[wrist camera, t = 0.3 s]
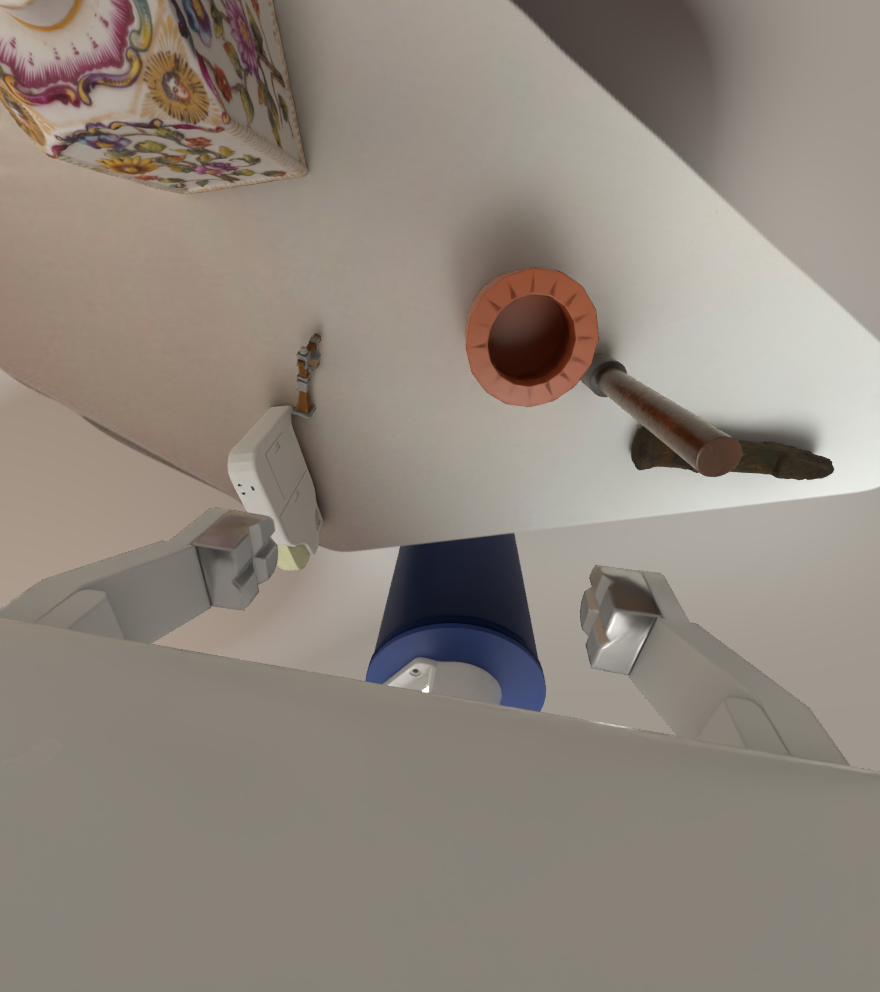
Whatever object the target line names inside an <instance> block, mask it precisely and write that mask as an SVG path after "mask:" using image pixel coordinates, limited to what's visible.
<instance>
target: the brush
mask: <svg viewBox="0 0 880 992" xmlns="http://www.w3.org/2000/svg"><path fill="white" fill-rule="evenodd" d="M581 381H582V382H583V383H584V384H585V385H586V386H587V387H588V388H589V389H590V390H592V391H593V392H594V393H595V394H596V395H598V396H601V397H609V398H610V399H612V400H613V401H614V402H615V403H616V404H618V405H619V406H620V407H621V408H622V409H624V410H625V411H626V412H627V413H628V414H630V415H631V416H632V417H633V418H634V419H636V420H637V421H638V422H639V423H641V424H642V425H643V426H644V427H645V428H647V429H648V430H649V431H650V432H651V433H653V434H654V435H655V436H656V437H657V438H659V439H660V440H661V441H662V442H663V443H665V444H666V445H667V446H668V447H669V448H671V449H672V450H673V451H674V452H675V453H677V454H678V455H679V456H680V457H681V458H683V459H684V460H685V461H686V462H687V463H689V464H690V465H691V466H692V467H693V468H695V469H696V470H697V471H698V472H699V473H701V474H702V475H705V476H708V477H717V476H721V475H724V474H726V473H728V472H730V471H731V470H732V469H734V468H735V467H736V466H737V464H738V463H739V461H740V459H741V457H742V447H741V444H740V443H739V442H738V441H737V440H736V439H734V438H733V437H731V436H729V435H728V434H726V433H724V432H723V431H721V430H719V429H718V428H716V427H714V426H713V425H711V424H709V423H708V422H706V421H704V420H703V419H701V418H699V417H698V416H696V415H694V414H693V413H691V412H689V411H688V410H686V409H684V408H682V407H681V406H679V405H677V404H676V403H674V402H672V401H671V400H669V399H667V398H666V397H664V396H662V395H661V394H659V393H657V392H656V391H654V390H652V389H651V388H649V387H647V386H646V385H644V384H642V383H641V382H639V381H637V380H636V379H634V378H632V377H631V376H629V375H627V372H626V369H625V367H624V366H623V365H622V364H621V363H619V362H618V361H616V360H614V359H612V358H610V357H608V356H607V355H604V354H594V356H593V360H592V363H591V364H590V366H589V368H588V369H587V370H586V372H585V373H584V375H583V376H582V377H581Z"/></svg>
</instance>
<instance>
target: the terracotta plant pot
mask: <svg viewBox="0 0 880 992" xmlns="http://www.w3.org/2000/svg"><path fill="white" fill-rule="evenodd" d="M595 310H596V309H595V307H594V305H593V304H592V302H591V300H590V298H589V296H588V295H587V293H586V291H585V289H584V288H583V287H582V286H581V285H580V284H579V283H577V282H576V281H574V280H573V279H571V278H570V277H568V276H567V275H565V274H564V273H563V272H560V271H556V270H548V269H541V268H527V269H521V270H516V271H513V272H509V273H506V274H503V275H500V276H497V277H496V278H494V279H493V280H492V281H491V282H489V283H488V284H487V285H486V286H485V287H484V288H482V289H481V290H480V291H479V293H478V295H477V296H476V298H475V300H474V301H473V303H472V306H471V307H470V309H469V312H468V319H467V326H466V351H467V356H468V360H469V364H470V368H471V372H472V374H473V375H474V376H475V378H476V379H477V381H478V382H479V383H480V385H481V386H482V387H483V389H484V390H485V391H486V392H487V393H488V394H490V395H492V396H494V397H495V398H497V399H499V400H500V401H502V402H504V403H506V404H511V405H518V406H526V407H529V406H530V407H532V406H536V405H540V404H544V403H548V402H552V401H553V400H556V399H557V398H559V397H560V396H561V395H563V394H564V393H566V392H567V391H569V390H570V389H572V388H573V387H574V386H575V385H576V384H577V383H578V381H579V380H580V379H581V377H582V376H583V375H584V373H585V372H586V370H587V369H588V368H589V366H590V364H591V363H592V360H593V356H594V353H595V349H596V346H597V342H598V339H599V338H598V337H599V336H598V325H597V314H596V311H595Z"/></svg>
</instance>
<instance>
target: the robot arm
mask: <svg viewBox="0 0 880 992" xmlns="http://www.w3.org/2000/svg"><path fill="white" fill-rule="evenodd" d="M274 532H275V525H274V520H273V519H272V518H271V517H270V516H265V515H259V514H254V513H248V512H242V511H236V510H230V509H223V508H216V507H215V508H209V509H208V510H207V511H205V512H204V513H203V514H202V515H201V516H199V517H198V518H197V519H196V520H194V521H193V522H192V523H190V524H189V525H188V526H187V527H185V528H184V529H183V530H182V531H180V532H179V533H178V534H177V535H176V536H174V537H173V538H172V539H171V540H170V541H160V542H156V543H153V544H150V545H147V546H144V547H141V548H138V549H135V550H131V551H128V552H125V553H122V554H119V555H116V556H113V557H110V558H107V559H104V560H101V561H98V562H95V563H92V564H88V565H86V566H82V567H80V568H76V569H73V570H70V571H68V572H64V573H61V574H58V575H55V576H52V577H49V578H46V579H42V580H41V581H40V582H38V583H37V584H35V585H33V586H32V587H31V588H29V589H28V590H26V591H25V592H23V593H22V594H20V595H19V596H17V597H16V598H14V599H13V600H11V601H10V602H8V603H7V604H5V605H4V606H2V607H1V608H0V992H880V771H875V770H870V769H864V768H857V767H852V766H850V764H849V763H848V762H847V760H846V759H845V757H844V756H843V755H842V753H841V752H840V750H839V749H838V747H837V746H836V745H835V743H834V742H833V740H832V739H831V738H830V736H829V735H828V733H827V732H826V730H825V729H824V728H823V726H822V725H821V723H820V722H819V721H818V720H817V718H816V716H815V715H814V713H813V712H812V711H811V709H810V708H809V707H808V706H806V705H805V704H804V703H802V702H801V701H800V700H798V699H797V698H796V697H794V696H793V695H792V694H790V693H789V692H788V691H786V690H785V689H784V688H782V687H781V686H780V685H778V684H777V683H776V682H774V681H773V680H771V679H770V678H769V677H768V676H766V675H765V674H764V673H762V672H761V671H759V670H758V669H757V668H756V667H754V666H753V665H751V664H750V663H749V662H747V661H746V660H745V659H743V658H742V657H741V656H739V655H738V654H737V653H735V652H734V651H733V650H731V649H730V648H729V647H727V646H726V645H725V644H723V643H722V642H721V641H719V640H718V639H717V638H715V637H714V636H713V635H711V634H710V633H709V632H707V631H706V630H704V629H703V628H702V627H701V626H699V625H698V624H695V623H690V622H689V620H688V618H687V617H686V615H685V613H684V611H683V609H682V608H681V606H680V604H679V602H678V600H677V598H676V597H675V595H674V593H673V591H672V589H671V587H670V586H669V584H668V582H667V580H666V579H665V577H664V575H662V574H661V573H658V572H649V571H641V570H638V571H636V570H629V569H622V568H614V567H607V566H600V565H595V567H594V568H593V570H592V572H591V574H590V578H589V579H590V582H591V586H592V587H591V588H589V589H588V590H586V591H585V592H584V595H583V598H582V602H581V609H580V620H581V626H582V630H583V631H584V632H585V633H586V634H587V635H588V636H589V637H588V640H587V643H586V648H587V652H588V657H589V661H590V665H591V668H593V669H599V670H603V671H609V672H614V673H619V674H624V675H629V678H630V679H631V680H632V682H633V683H634V684H635V685H636V687H637V688H638V689H639V690H640V691H641V693H642V694H643V695H644V696H645V698H646V699H647V700H648V701H649V702H650V703H651V705H652V706H653V707H654V708H655V710H656V711H657V712H658V713H659V715H660V716H661V717H662V718H663V719H664V720H665V722H666V723H667V724H668V725H669V727H670V728H671V729H672V730H673V732H674V733H675V734H676V735H677V736H674V735H669V734H663V733H657V732H652V731H646V730H640V729H634V728H629V727H623V726H617V725H612V724H606V723H600V722H594V721H589V720H583V719H577V718H571V717H566V716H560V715H555V714H549V713H543V712H538V711H532V710H526V709H520V708H515V707H509V706H503V705H500V701H501V697H502V692H501V688H500V685H499V683H498V682H497V680H496V679H495V678H494V677H493V676H492V675H491V674H490V673H488V672H487V671H485V670H483V669H481V668H479V667H477V666H474V665H471V664H467V663H462V662H442V661H435V660H432V659H428V658H424V657H417V658H415V659H413V660H412V661H411V662H410V663H408V664H407V665H406V666H404V667H403V668H402V669H401V670H399V671H398V672H397V673H396V674H394V675H393V676H392V677H391V678H389V679H388V680H387V681H385V682H384V683H383V684H378V683H372V682H366V681H361V680H355V679H349V678H344V677H338V676H332V675H327V674H321V673H315V672H308V671H303V670H298V669H292V668H286V667H280V666H275V665H269V664H262V663H257V662H251V661H246V660H240V659H234V658H228V657H222V656H217V655H211V654H205V653H200V652H194V651H188V650H183V649H176V648H171V647H165V646H160V645H155V644H151V643H153V642H154V641H156V640H158V639H159V638H161V637H163V636H164V635H166V634H168V633H169V632H171V631H173V630H175V629H176V628H178V627H180V626H181V625H183V624H185V623H186V622H188V621H190V620H191V619H193V618H195V617H196V616H198V615H200V614H201V613H203V612H204V611H206V610H208V609H210V608H211V606H214V607H221V608H229V609H236V610H244V611H245V610H246V608H247V607H248V606H249V604H250V603H251V602H252V600H253V599H254V598H255V597H256V595H257V594H258V592H259V588H258V585H259V584H260V583H263V582H265V581H267V580H268V579H269V578H270V576H271V575H272V574H273V572H274V570H275V567H276V564H277V562H278V546H277V544H276V543H275V541H274V540H273V539H272V538H271V536H272V534H273V533H274Z"/></svg>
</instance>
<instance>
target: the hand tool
mask: <svg viewBox="0 0 880 992" xmlns="http://www.w3.org/2000/svg"><path fill="white" fill-rule="evenodd" d="M738 442H739V443H740V444H741V447H742V457H741V459H740V461H739V463H738V464H737V466H736V467H735V468H734V469H732V470H731V471H730V472H742V473H761V474H770V475H773V476H775V477H776V478H784V479H797V480H803V479H807V480H813V479H817V478H824V477H826V476H828V475H830V474H832V473H833V471H834V467H833V465H832V461H830V459H828V458H825V457H822V456H818V455H815V454H812V453H811V452H810V451H806V450H804V451H803V450H801V449H797V448H795V447H792V446H786V445H783V444H779V443H774V442H764V443H754V442H747V441H738ZM631 457H632V461H633V462H634V464H635V467H636V468H637V469H639V470H644V469H650V468H652V467H658V466H659V467H670V468H671V467H674V468H682V469H689V470H691V471H693V472H696V473H699V472H698V471H697V470H696V469H695V468H693V467H692V466H691V465H690V464H689V463H687V462H686V461H685V460H684V459H683V458H681V457H680V456H679V455H678V454H677V453H675V452H674V451H673V450H672V449H671V448H669V447H668V446H667V445H666V444H665V443H663V442H662V441H661V440H660V439H659V438H657V437H656V436H655V435H654V434H653V433H651V432H650V431H649V430H648V429H647V428H645V427H644V426H643V427H642V428H640V429H638V431H637V434H636V437H635V439H634V441H633V445H632V452H631Z"/></svg>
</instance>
